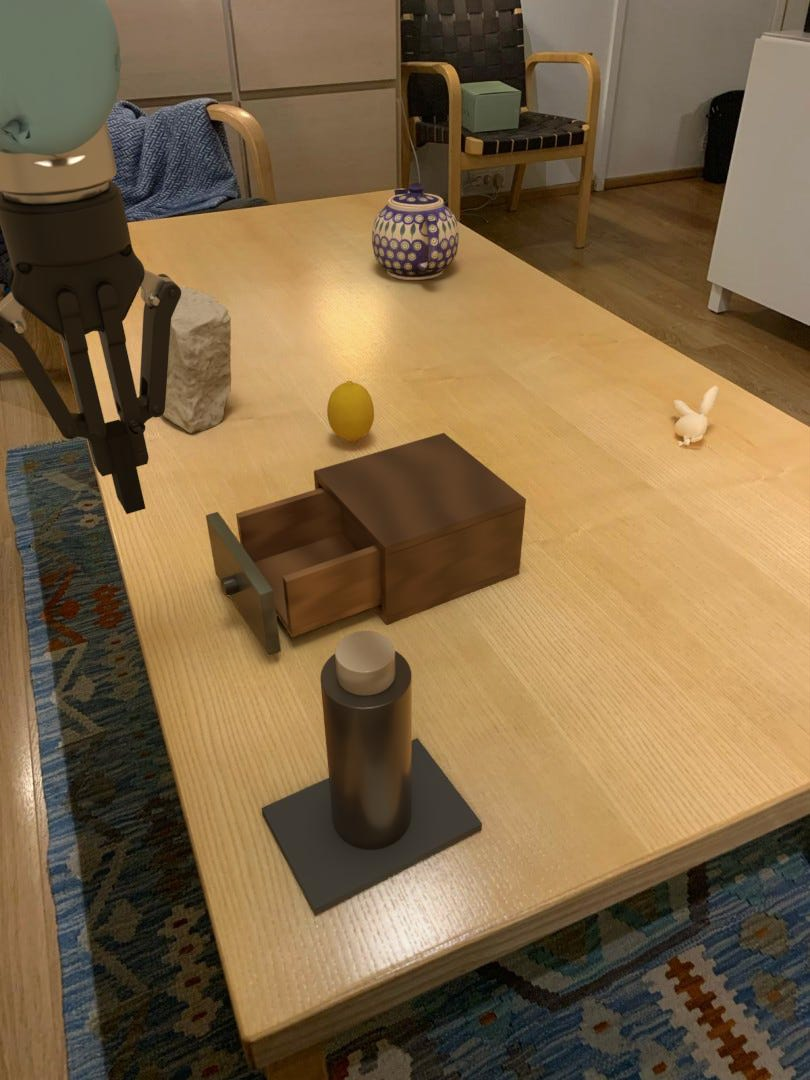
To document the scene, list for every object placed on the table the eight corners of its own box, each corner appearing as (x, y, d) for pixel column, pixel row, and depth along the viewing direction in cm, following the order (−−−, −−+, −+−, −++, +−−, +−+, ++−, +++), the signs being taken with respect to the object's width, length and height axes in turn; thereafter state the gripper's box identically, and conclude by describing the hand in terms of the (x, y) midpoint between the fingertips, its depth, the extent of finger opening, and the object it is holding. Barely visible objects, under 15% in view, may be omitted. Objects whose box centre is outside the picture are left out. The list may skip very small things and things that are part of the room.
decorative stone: (140, 413, 112) (118, 303, 103) (195, 387, 118) (178, 281, 109) (194, 437, 107) (175, 324, 98) (248, 409, 113) (235, 300, 104)
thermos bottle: (354, 863, 59) (344, 697, 49) (319, 803, 63) (303, 639, 53) (426, 827, 61) (429, 662, 52) (387, 771, 65) (383, 608, 56)
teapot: (473, 293, 146) (477, 201, 137) (385, 299, 143) (383, 206, 135) (441, 246, 165) (442, 163, 157) (362, 250, 163) (360, 167, 154)
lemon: (320, 440, 106) (315, 380, 102) (355, 426, 109) (352, 367, 105) (348, 458, 103) (345, 397, 98) (384, 442, 106) (382, 382, 101)
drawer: (255, 661, 74) (246, 599, 70) (203, 578, 83) (192, 518, 79) (406, 604, 80) (405, 544, 76) (342, 532, 89) (338, 475, 85)
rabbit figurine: (658, 444, 105) (667, 391, 109) (675, 461, 108) (683, 409, 111) (704, 433, 101) (712, 378, 105) (720, 451, 103) (728, 397, 107)
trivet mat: (315, 916, 57) (314, 909, 56) (262, 814, 63) (260, 807, 63) (481, 830, 62) (482, 823, 61) (417, 744, 68) (417, 737, 68)
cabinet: (386, 625, 79) (384, 547, 74) (319, 543, 89) (313, 470, 84) (519, 574, 85) (526, 498, 80) (442, 503, 95) (443, 432, 90)
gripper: (-49, 218, 49) (56, 554, 63) (178, 185, 54) (227, 502, 68) (-66, 187, 54) (34, 503, 68) (143, 159, 59) (195, 458, 73)
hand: (131, 502), depth 68 cm, fingers closed
